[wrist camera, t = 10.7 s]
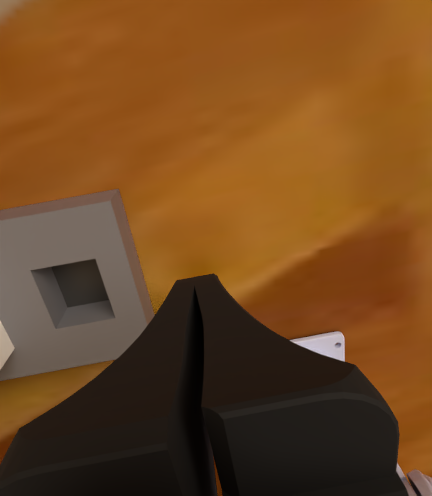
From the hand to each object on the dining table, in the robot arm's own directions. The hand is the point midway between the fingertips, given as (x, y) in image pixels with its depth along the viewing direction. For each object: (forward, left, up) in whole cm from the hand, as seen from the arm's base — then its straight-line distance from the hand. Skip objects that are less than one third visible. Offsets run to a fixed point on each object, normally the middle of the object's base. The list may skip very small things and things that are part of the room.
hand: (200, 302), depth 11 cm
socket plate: (-3, +11, -10) cm, 15 cm away
